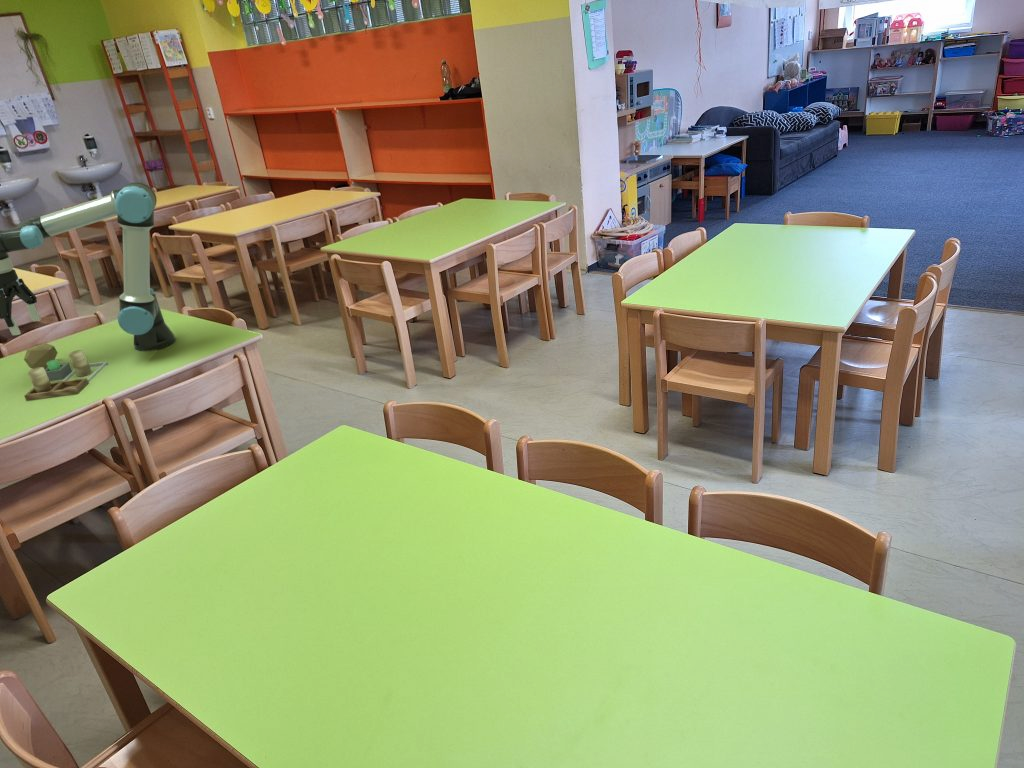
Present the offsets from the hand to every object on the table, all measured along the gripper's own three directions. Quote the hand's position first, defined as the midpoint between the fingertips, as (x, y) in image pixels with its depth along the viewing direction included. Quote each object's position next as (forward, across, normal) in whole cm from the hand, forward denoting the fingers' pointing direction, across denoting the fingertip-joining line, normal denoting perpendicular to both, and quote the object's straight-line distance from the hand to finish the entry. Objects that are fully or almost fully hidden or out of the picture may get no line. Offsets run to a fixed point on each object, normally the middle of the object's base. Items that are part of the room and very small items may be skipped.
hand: (27, 327), depth 259 cm
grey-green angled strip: (+20, +3, +15) cm, 25 cm away
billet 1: (+19, +18, +8) cm, 27 cm away
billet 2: (+20, +3, +15) cm, 25 cm away
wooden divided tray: (+20, +17, +12) cm, 29 cm away
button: (+19, +3, +5) cm, 20 cm away
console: (+20, +3, +5) cm, 21 cm away
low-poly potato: (+20, -11, -6) cm, 24 cm away
